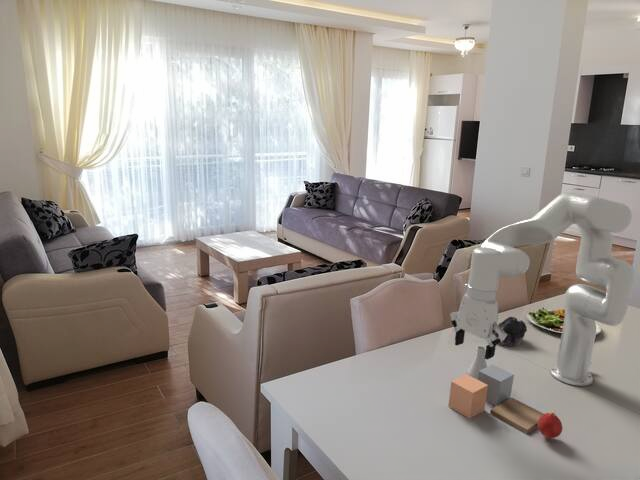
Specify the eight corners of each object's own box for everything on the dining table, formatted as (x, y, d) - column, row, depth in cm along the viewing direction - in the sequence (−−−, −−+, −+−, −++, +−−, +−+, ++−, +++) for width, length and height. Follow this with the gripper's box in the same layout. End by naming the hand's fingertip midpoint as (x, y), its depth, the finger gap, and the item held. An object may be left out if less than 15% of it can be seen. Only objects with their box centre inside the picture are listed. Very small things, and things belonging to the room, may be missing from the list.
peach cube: (463, 398, 142) (466, 374, 140) (484, 409, 137) (488, 385, 135) (448, 406, 138) (451, 381, 136) (469, 418, 132) (473, 392, 130)
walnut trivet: (511, 400, 142) (511, 397, 142) (547, 419, 134) (547, 415, 133) (490, 413, 135) (490, 409, 135) (526, 433, 127) (527, 429, 127)
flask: (490, 383, 152) (494, 354, 149) (467, 379, 153) (471, 351, 150) (487, 371, 158) (491, 344, 156) (465, 368, 160) (468, 341, 157)
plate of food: (513, 323, 200) (515, 309, 198) (542, 308, 218) (544, 295, 216) (585, 347, 180) (587, 333, 178) (609, 329, 198) (612, 315, 197)
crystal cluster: (480, 340, 183) (484, 318, 180) (493, 327, 193) (498, 306, 189) (514, 355, 175) (520, 331, 172) (527, 340, 185) (532, 318, 181)
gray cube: (489, 387, 149) (492, 364, 147) (510, 398, 143) (514, 374, 141) (475, 394, 144) (478, 370, 142) (496, 406, 139) (500, 381, 137)
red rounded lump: (531, 431, 128) (536, 405, 126) (551, 431, 129) (556, 404, 127) (543, 445, 122) (548, 418, 120) (564, 445, 123) (569, 418, 121)
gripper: (446, 286, 133) (440, 342, 137) (502, 306, 120) (493, 367, 124) (463, 281, 138) (456, 336, 142) (518, 300, 125) (509, 360, 129)
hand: (473, 350), depth 133 cm, fingers open, 9 cm apart
